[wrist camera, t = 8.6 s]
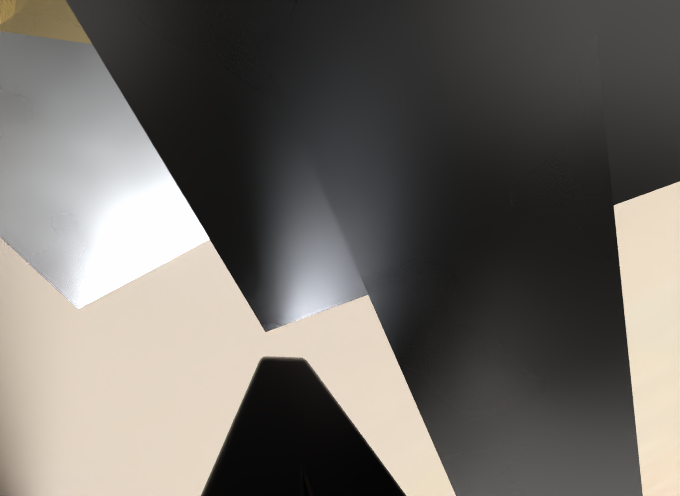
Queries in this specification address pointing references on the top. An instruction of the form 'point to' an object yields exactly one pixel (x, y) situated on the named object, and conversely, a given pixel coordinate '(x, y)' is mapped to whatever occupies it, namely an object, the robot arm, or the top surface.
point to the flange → (81, 173)
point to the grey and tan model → (424, 192)
